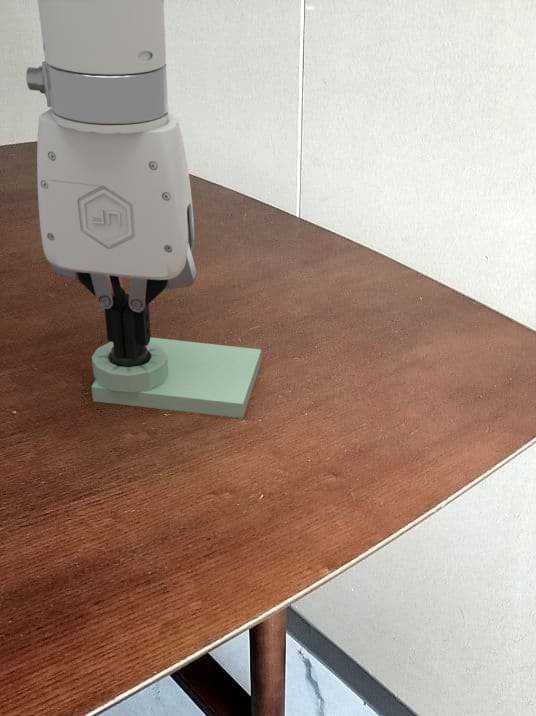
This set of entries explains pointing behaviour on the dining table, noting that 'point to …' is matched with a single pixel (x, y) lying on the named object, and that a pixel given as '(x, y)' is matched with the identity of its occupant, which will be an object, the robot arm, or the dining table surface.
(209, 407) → the green dial panel
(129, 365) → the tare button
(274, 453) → the dining table surface
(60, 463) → the dining table surface
